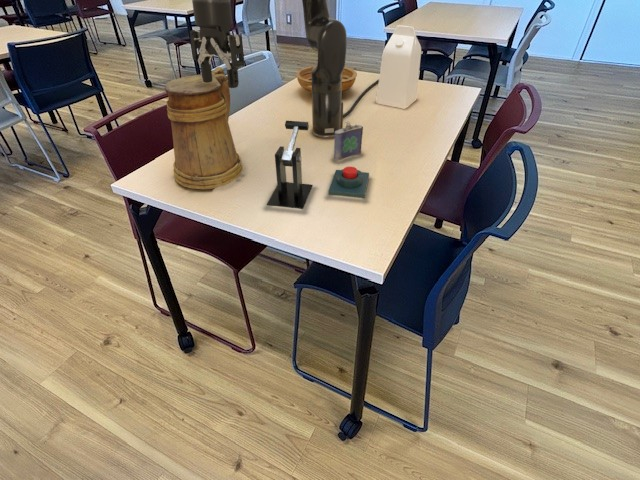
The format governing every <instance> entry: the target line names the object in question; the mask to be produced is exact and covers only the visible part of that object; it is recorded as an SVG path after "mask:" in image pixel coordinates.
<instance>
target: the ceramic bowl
mask: <svg viewBox="0 0 640 480" xmlns="http://www.w3.org/2000/svg"><path fill="white" fill-rule="evenodd" d="M315 66H316V65H310V66H306V67H304V68H301V69H299V70H298V71H297V72H296V73H295V76H296V77H297V81H298V84H299V86H300V87H301V88H302V89H303V90H305V91H306V92H309V93H311V94H312V77H311V72H312V69H313V67H315ZM357 76H358V73H357V71H356V70H355V69H353V68H351V67H346V66H345V68H344V70H343V73H342V93H344V92H346V91H348V90H350V89H351V88H352V87H353V86H354V84H355V82H356V78H357Z"/></svg>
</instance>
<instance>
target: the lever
mask: <svg viewBox="0 0 640 480" xmlns="http://www.w3.org/2000/svg"><path fill="white" fill-rule="evenodd" d="M309 123H310V122H309V121H299V120H296V121H295V120H285V122H284V127H285V129H286V130H292V131H291V135H290V139H289V143H288V147H287V149H284V152H283V156H282V163H283V166H285V167H290V168H291V167H292V155H293V153H294V150H295V146H296V141H297V138H298V133H299V131H309V128H310V124H309Z"/></svg>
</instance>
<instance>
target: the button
mask: <svg viewBox="0 0 640 480" xmlns="http://www.w3.org/2000/svg"><path fill="white" fill-rule="evenodd" d="M357 170H358V168H357V167H355V166H346V167H343V177H344V178H346V179H354V178H356V177H357Z"/></svg>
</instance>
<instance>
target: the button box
mask: <svg viewBox="0 0 640 480" xmlns="http://www.w3.org/2000/svg"><path fill="white" fill-rule="evenodd" d="M343 169H344V168H343ZM343 169H335V171H334V174H333V178H332V180H331V183H330V186H329V189H328V195H331V196H339V197H340V196H341V197H348V198H349V197H350V198H360V199H365V198H366V192H367V188H368V183H369V179H370V172H366V171H365V172H364V171H361V170H359V169H357V177H356V178H354V179H346V178H344V177H343Z"/></svg>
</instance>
